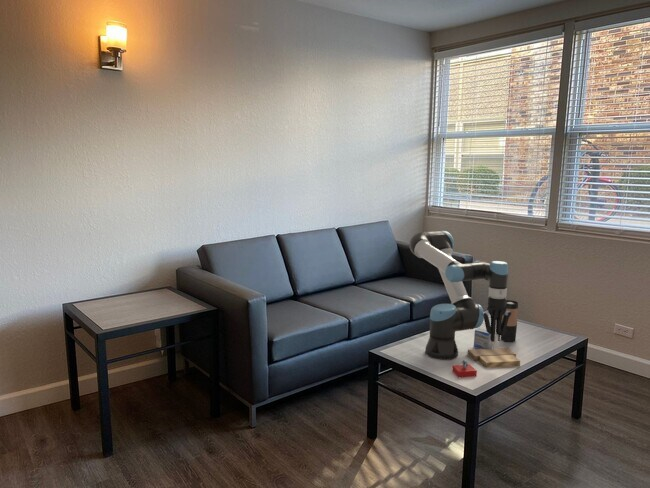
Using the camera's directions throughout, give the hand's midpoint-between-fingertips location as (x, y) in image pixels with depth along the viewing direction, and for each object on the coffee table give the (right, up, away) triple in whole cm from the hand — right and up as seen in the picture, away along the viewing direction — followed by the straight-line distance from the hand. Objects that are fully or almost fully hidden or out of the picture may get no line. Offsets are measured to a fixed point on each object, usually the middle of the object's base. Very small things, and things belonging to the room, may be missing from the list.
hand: (494, 348), depth 227 cm
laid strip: (+3, -6, +12) cm, 14 cm away
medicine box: (+2, -5, +24) cm, 24 cm away
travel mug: (+18, -3, +34) cm, 38 cm away
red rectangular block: (-15, -10, -6) cm, 19 cm away
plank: (+4, -8, +5) cm, 10 cm away
